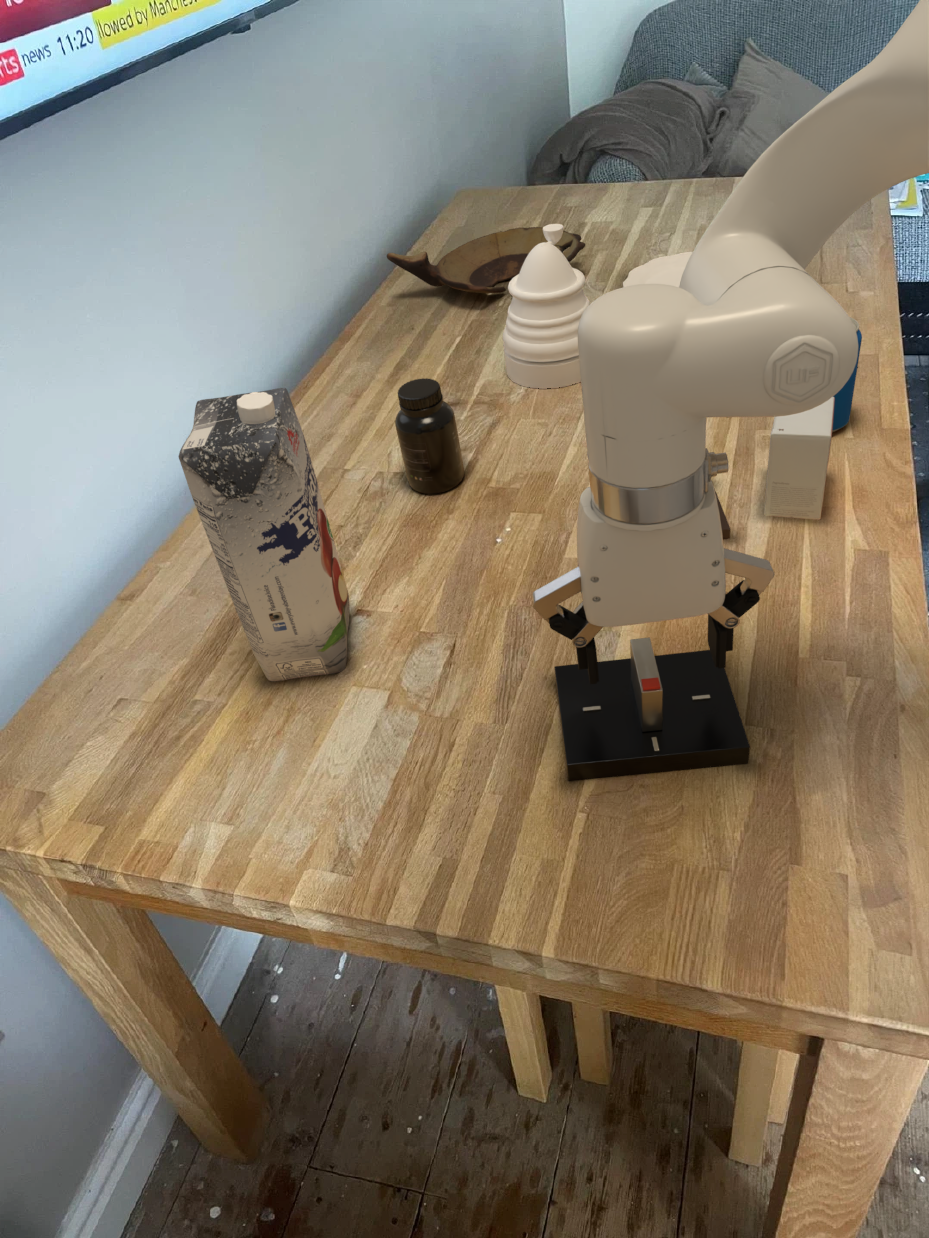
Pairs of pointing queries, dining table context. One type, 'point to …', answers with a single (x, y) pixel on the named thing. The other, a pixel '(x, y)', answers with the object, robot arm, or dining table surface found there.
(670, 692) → the console
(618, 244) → the dining table surface
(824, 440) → the small box
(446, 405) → the supplement bottle
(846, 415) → the beverage can
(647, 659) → the knob
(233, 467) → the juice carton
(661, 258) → the plate
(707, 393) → the robot arm
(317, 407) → the dining table surface
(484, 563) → the dining table surface
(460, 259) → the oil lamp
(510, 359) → the honey pot
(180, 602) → the dining table surface
